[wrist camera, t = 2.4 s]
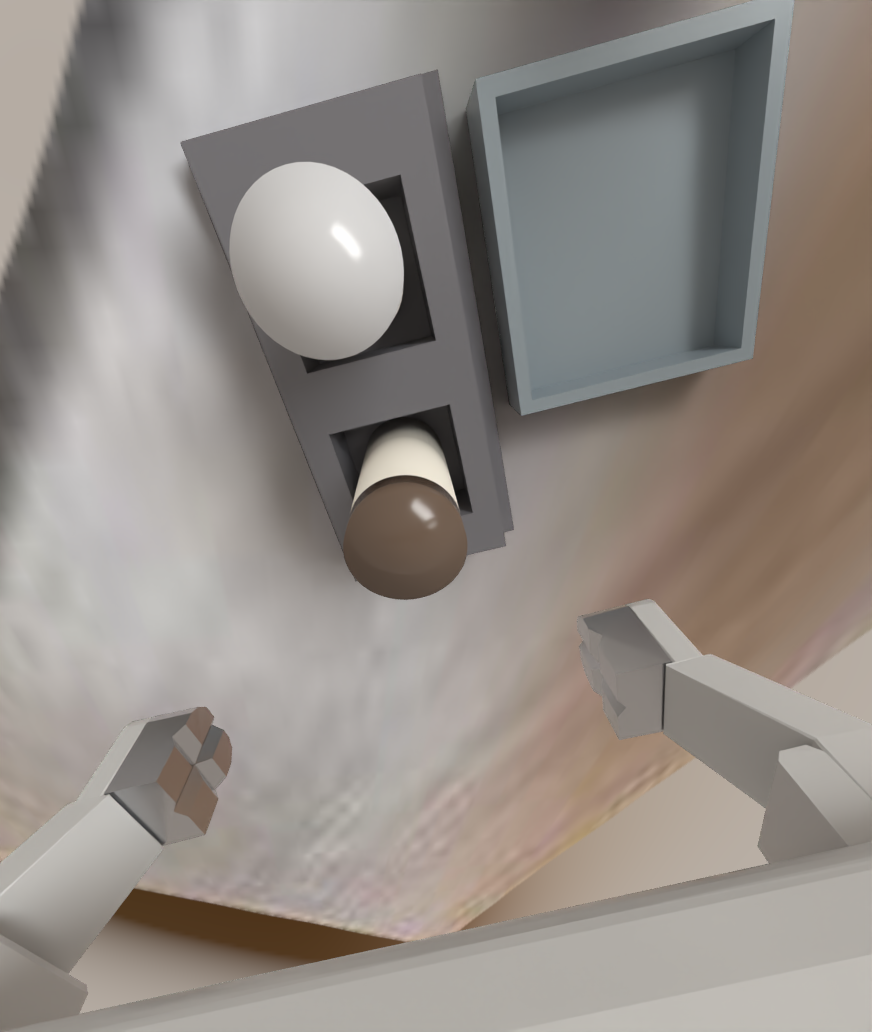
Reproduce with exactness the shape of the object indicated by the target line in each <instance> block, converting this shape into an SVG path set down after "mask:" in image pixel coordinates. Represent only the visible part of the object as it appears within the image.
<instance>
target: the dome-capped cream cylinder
mask: <svg viewBox="0 0 872 1032" xmlns="http://www.w3.org/2000/svg"><path fill="white" fill-rule="evenodd" d="M229 254H230V264H231V270H232V274H233V279H234V282H235V285H236V288H237V291H238V293H239V295H240V297H241V300H242V302H243V304H244V305H245V307H246V309H247V310H248V312H249V314H250V315H251V317H252V318H253V319H254V321H255V322H256V323H257V325H258V326H259V327H260V328H261V329H262V330H263V331H264V332H265V333H266V334H267V335H268V336H269V337H271V338H272V339H273V340H274V341H275V342H277V343H278V344H280V345H281V346H283V347H284V348H286V349H288V350H290V351H292V352H294V353H296V354H299V355H302V356H305V357H309V358H313V359H320V360H337V359H343V358H347V357H350V356H353V355H356V354H358V353H360V352H362V351H364V350H366V349H367V348H368V347H370V346H371V345H373V344H374V343H375V342H376V341H377V340H378V339H379V338H380V337H381V336H382V335H383V334H384V332H385V331H386V330H387V329H388V327H389V325H390V324H391V322H392V321H393V319H394V317H395V316H396V314H397V312H398V310H399V308H400V305H401V302H402V297H403V282H404V267H403V257H402V251H401V247H400V243H399V240H398V236H397V233H396V231H395V229H394V226H393V224H392V222H391V220H390V218H389V216H388V214H387V213H386V211H385V209H384V208H383V207H382V205H381V204H380V202H379V201H378V199H377V198H376V197H375V196H374V195H373V194H372V193H371V192H370V191H369V190H368V189H367V188H366V187H365V186H364V185H363V184H362V183H360V182H359V181H358V180H357V179H355V178H354V177H352V176H350V175H349V174H347V173H346V172H343V171H341V170H339V169H337V168H335V167H332V166H329V165H325V164H322V163H315V162H295V163H290V164H285V165H282V166H280V167H277V168H274V169H273V170H271V171H269V172H268V173H266V174H264V175H263V176H262V177H260V178H259V179H258V180H257V181H256V182H255V183H254V184H253V185H252V186H251V187H250V188H249V190H248V191H247V192H246V193H245V195H244V197H243V198H242V200H241V202H240V203H239V206H238V208H237V210H236V213H235V215H234V219H233V223H232V226H231V233H230V246H229Z"/></svg>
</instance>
